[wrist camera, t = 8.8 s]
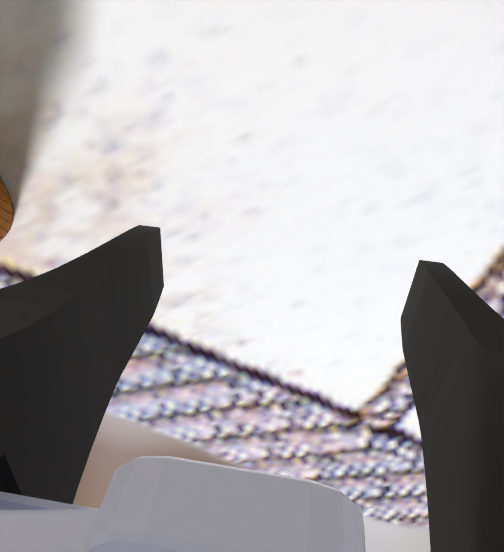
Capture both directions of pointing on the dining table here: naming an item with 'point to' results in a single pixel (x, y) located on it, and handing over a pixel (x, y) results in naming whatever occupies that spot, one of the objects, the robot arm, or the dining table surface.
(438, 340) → the robot arm
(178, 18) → the dining table surface
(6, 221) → the disposable coffee cup
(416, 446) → the dining table surface
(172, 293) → the dining table surface
